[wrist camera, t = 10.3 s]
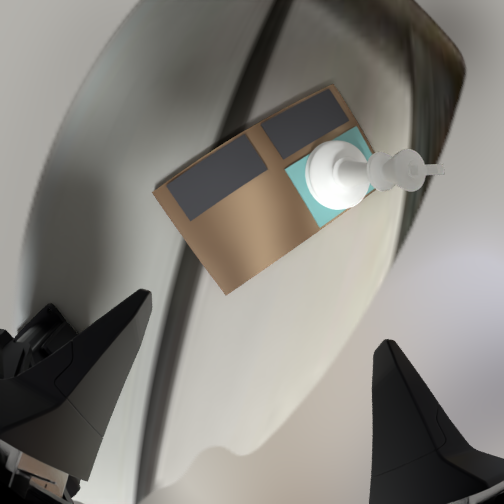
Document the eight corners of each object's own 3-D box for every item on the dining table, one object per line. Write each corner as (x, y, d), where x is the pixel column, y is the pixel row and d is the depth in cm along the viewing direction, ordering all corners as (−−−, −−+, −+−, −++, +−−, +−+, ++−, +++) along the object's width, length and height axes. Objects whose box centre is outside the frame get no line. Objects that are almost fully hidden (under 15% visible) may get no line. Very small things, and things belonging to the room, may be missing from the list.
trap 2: (190, 221, 18) (190, 221, 18) (166, 185, 18) (165, 185, 17) (267, 169, 18) (267, 169, 18) (243, 134, 18) (244, 133, 17)
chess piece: (299, 143, 18) (387, 106, 9) (360, 139, 19) (464, 116, 9) (310, 214, 19) (403, 238, 10) (370, 204, 20) (475, 220, 10)
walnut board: (225, 292, 20) (225, 295, 20) (153, 192, 18) (151, 192, 17) (384, 180, 21) (388, 180, 20) (329, 86, 18) (333, 83, 18)
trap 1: (283, 159, 18) (283, 159, 18) (260, 125, 18) (260, 124, 18) (348, 121, 19) (349, 120, 18) (327, 89, 18) (329, 88, 18)
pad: (319, 227, 20) (320, 227, 20) (284, 169, 19) (285, 169, 18) (384, 180, 20) (385, 180, 20) (355, 126, 19) (356, 126, 19)
